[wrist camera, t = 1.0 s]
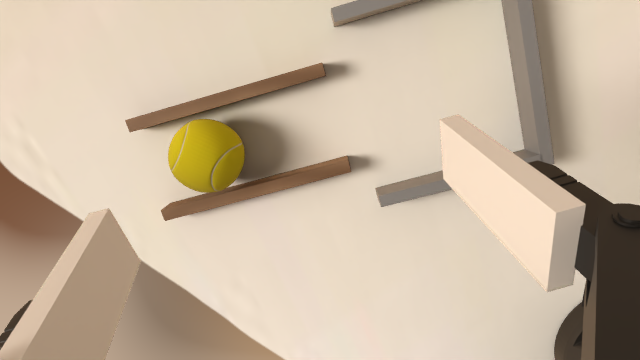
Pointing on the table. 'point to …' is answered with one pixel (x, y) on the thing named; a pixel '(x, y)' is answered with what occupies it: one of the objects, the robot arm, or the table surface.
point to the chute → (253, 187)
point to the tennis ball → (206, 155)
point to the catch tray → (525, 80)
